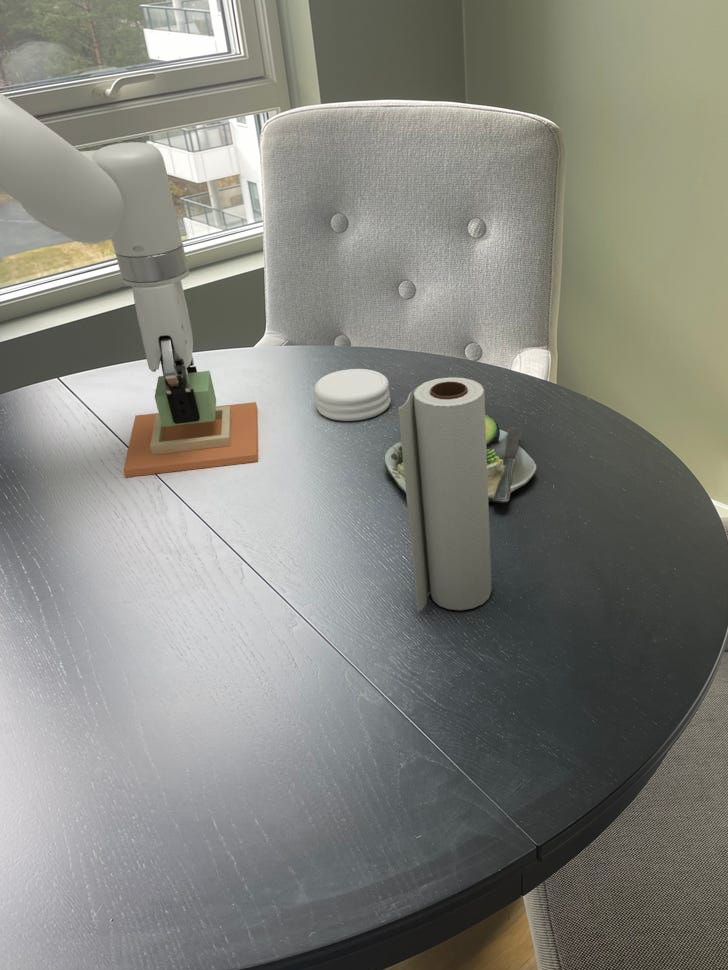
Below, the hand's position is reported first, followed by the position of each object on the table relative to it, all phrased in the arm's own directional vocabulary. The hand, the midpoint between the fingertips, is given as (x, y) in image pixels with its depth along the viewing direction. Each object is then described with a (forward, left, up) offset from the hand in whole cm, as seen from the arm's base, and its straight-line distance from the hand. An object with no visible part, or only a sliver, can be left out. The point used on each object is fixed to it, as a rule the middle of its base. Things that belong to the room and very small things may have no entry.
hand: (188, 408), depth 122 cm
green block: (0, 0, -1) cm, 1 cm away
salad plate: (+32, -17, -5) cm, 37 cm away
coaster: (+21, +5, -5) cm, 22 cm away
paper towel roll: (+27, -42, -5) cm, 50 cm away
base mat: (0, 0, -4) cm, 4 cm away
